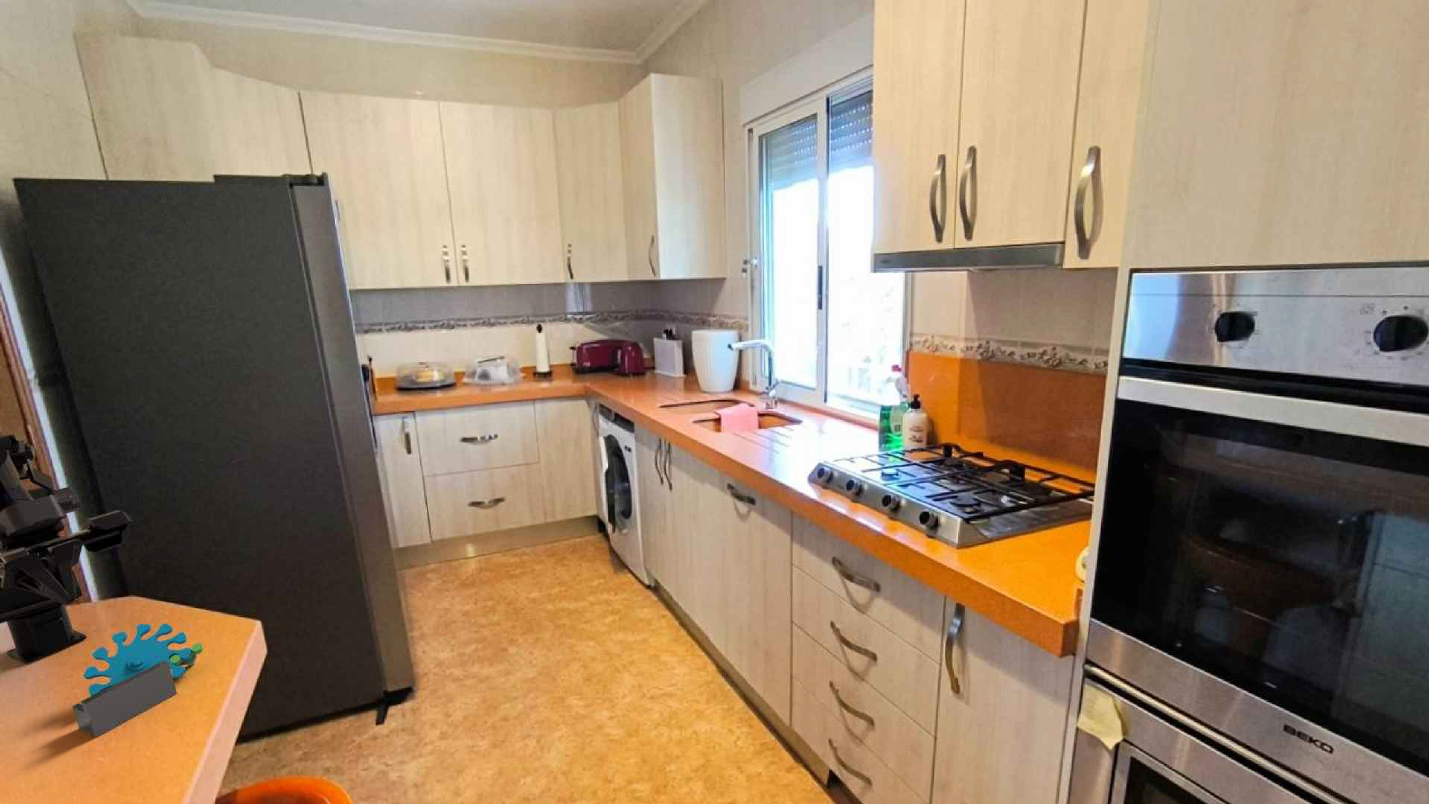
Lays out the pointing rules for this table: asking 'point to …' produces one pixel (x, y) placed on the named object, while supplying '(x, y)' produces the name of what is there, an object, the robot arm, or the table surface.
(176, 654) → the gear
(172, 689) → the bay frame
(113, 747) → the table surface
